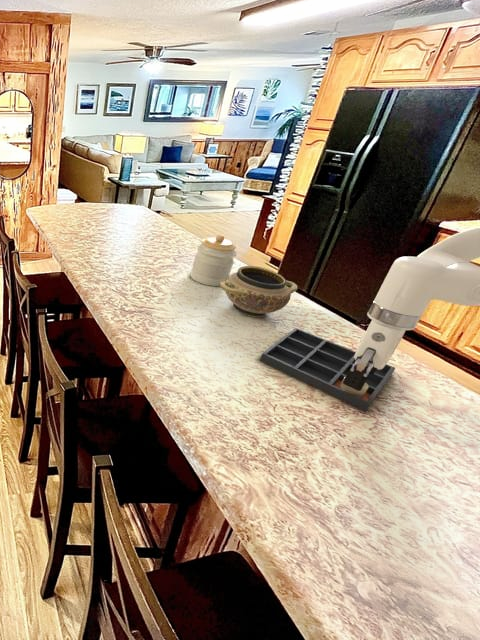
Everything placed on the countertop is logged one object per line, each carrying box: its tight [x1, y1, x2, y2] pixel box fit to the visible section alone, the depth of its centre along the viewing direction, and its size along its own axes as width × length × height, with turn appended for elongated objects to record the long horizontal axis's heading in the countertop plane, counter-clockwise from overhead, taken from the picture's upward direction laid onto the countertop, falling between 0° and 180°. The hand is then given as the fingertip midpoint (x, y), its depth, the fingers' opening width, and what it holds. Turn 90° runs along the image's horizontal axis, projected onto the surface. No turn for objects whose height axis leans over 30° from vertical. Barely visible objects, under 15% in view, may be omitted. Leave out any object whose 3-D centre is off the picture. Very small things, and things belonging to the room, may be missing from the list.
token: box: [339, 377, 368, 398], centre depth 90 cm, size 4×4×3 cm
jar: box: [190, 234, 237, 287], centre depth 143 cm, size 13×13×18 cm
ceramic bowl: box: [219, 265, 298, 318], centre depth 123 cm, size 24×18×15 cm
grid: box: [259, 327, 396, 413], centre depth 99 cm, size 22×22×2 cm
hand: (358, 378), depth 88 cm, fingers open, 9 cm apart
